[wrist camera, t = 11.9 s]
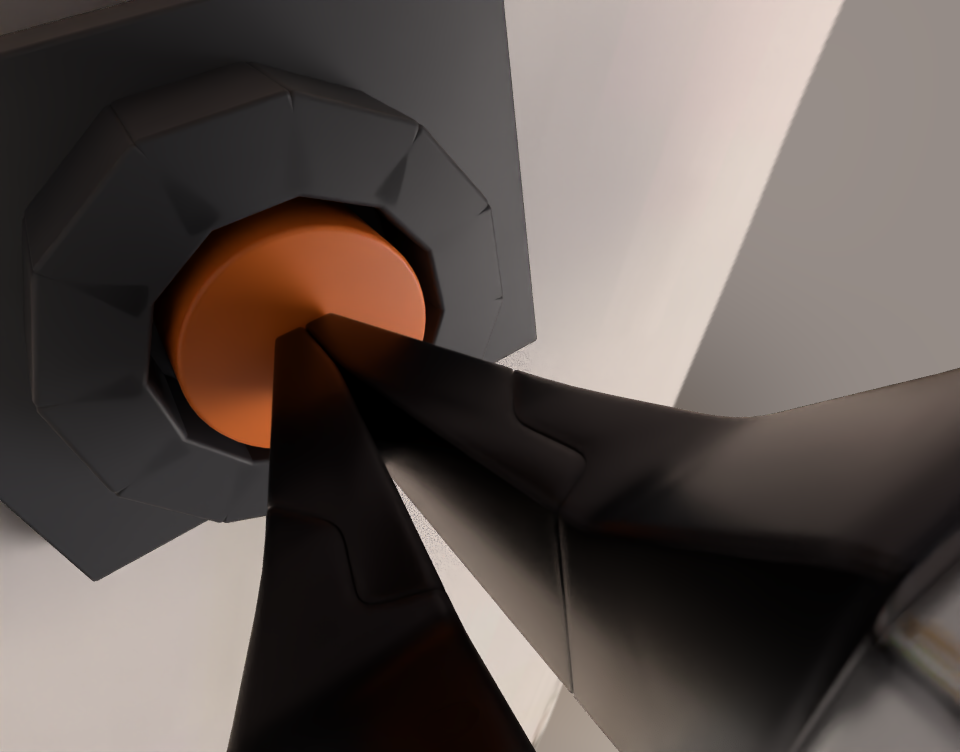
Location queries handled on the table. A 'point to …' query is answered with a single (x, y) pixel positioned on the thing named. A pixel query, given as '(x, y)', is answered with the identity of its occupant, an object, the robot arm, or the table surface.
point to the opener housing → (218, 202)
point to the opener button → (275, 303)
